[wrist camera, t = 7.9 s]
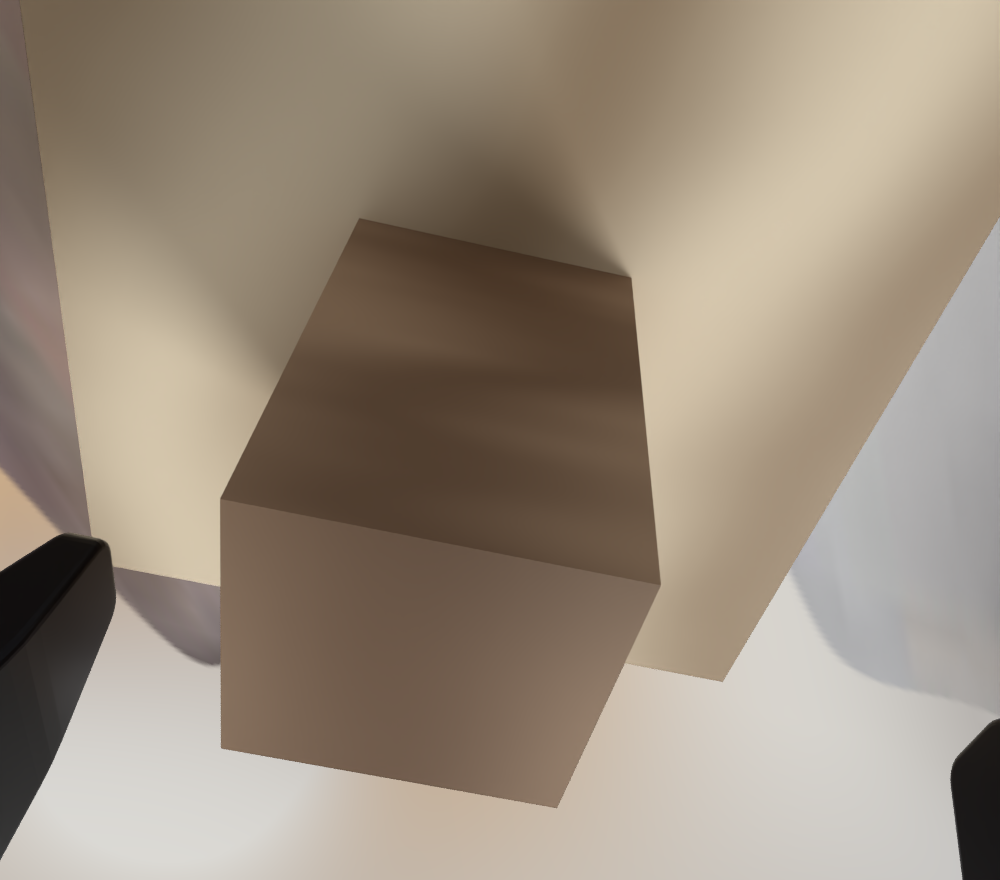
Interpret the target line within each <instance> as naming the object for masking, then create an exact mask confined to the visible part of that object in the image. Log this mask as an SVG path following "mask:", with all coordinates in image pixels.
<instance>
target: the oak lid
mask: <svg viewBox="0 0 1000 880" xmlns="http://www.w3.org/2000/svg"><path fill="white" fill-rule="evenodd" d="M19 2H20V9H21V17H22V24H23V31H24V39H25V46H26V54H27V61H28V68H29V76H30V83H31V91H32V98H33V105H34V113H35V120H36V128H37V135H38V142H39V150H40V157H41V165H42V172H43V179H44V187H45V194H46V202H47V209H48V216H49V224H50V231H51V239H52V246H53V253H54V261H55V268H56V275H57V283H58V290H59V298H60V305H61V312H62V320H63V327H64V335H65V342H66V349H67V357H68V364H69V372H70V379H71V386H72V394H73V401H74V409H75V416H76V423H77V431H78V438H79V446H80V453H81V460H82V468H83V475H84V483H85V490H86V497H87V505H88V512H89V520H90V527H91V534H92V537H95V538H100V539H102V540H105V541H106V542H107V543H108V545H109V546H110V550H111V556H112V564H113V566H115V567H120V568H125V569H130V570H136V571H141V572H146V573H152V574H157V575H162V576H167V577H173V578H178V579H183V580H188V581H194V582H199V583H204V584H210V585H215V586H220V616H221V748H222V749H228V750H233V751H239V752H244V753H250V754H256V755H261V756H267V757H273V758H279V759H284V760H289V761H295V762H301V763H306V764H312V765H318V766H324V767H329V768H334V769H340V770H346V771H351V772H357V773H363V774H368V775H374V776H379V777H385V778H391V779H396V780H402V781H408V782H413V783H419V784H424V785H430V786H435V787H441V788H447V789H452V790H458V791H463V792H469V793H475V794H480V795H486V796H492V797H497V798H503V799H508V800H514V801H520V802H525V803H531V804H536V805H542V806H548V807H553V808H557V807H558V805H559V803H560V800H561V798H562V796H563V794H564V792H565V790H566V787H567V785H568V783H569V781H570V779H571V777H572V775H573V773H574V770H575V768H576V766H577V764H578V762H579V760H580V758H581V755H582V753H583V751H584V749H585V747H586V745H587V743H588V741H589V738H590V736H591V734H592V732H593V730H594V728H595V725H596V723H597V721H598V719H599V717H600V715H601V713H602V711H603V708H604V706H605V704H606V702H607V700H608V698H609V696H610V694H611V691H612V689H613V687H614V685H615V683H616V681H617V679H618V676H619V674H620V672H621V670H622V668H623V666H624V664H625V663H627V664H632V665H637V666H642V667H647V668H652V669H658V670H663V671H669V672H674V673H679V674H684V675H689V676H695V677H700V678H706V679H710V680H716V681H721V682H723V680H724V679H725V677H726V675H727V674H728V672H729V670H730V669H731V667H732V665H733V664H734V662H735V660H736V659H737V657H738V655H739V654H740V652H741V650H742V649H743V647H744V645H745V643H746V642H747V640H748V638H749V637H750V635H751V633H752V632H753V630H754V628H755V627H756V625H757V623H758V622H759V620H760V618H761V617H762V615H763V613H764V612H765V610H766V608H767V607H768V605H769V603H770V601H771V600H772V598H773V596H774V595H775V593H776V591H777V590H778V588H779V586H780V585H781V583H782V581H783V580H784V578H785V576H786V575H787V573H788V571H789V570H790V568H791V566H792V565H793V563H794V561H795V560H796V558H797V556H798V554H799V553H800V551H801V549H802V548H803V546H804V544H805V543H806V541H807V539H808V538H809V536H810V534H811V533H812V531H813V529H814V528H815V526H816V524H817V523H818V521H819V519H820V518H821V516H822V514H823V513H824V511H825V509H826V507H827V506H828V504H829V502H830V501H831V499H832V497H833V496H834V494H835V492H836V491H837V489H838V487H839V486H840V484H841V482H842V481H843V479H844V477H845V476H846V474H847V472H848V471H849V469H850V467H851V465H852V464H853V462H854V460H855V459H856V457H857V455H858V454H859V452H860V450H861V449H862V447H863V445H864V444H865V442H866V440H867V439H868V437H869V435H870V434H871V432H872V430H873V429H874V427H875V425H876V423H877V422H878V420H879V418H880V417H881V415H882V413H883V412H884V410H885V408H886V407H887V405H888V403H889V402H890V400H891V398H892V397H893V395H894V393H895V392H896V390H897V388H898V387H899V385H900V383H901V382H902V380H903V378H904V376H905V375H906V373H907V371H908V370H909V368H910V366H911V365H912V363H913V361H914V360H915V358H916V356H917V355H918V353H919V351H920V350H921V348H922V346H923V345H924V343H925V341H926V340H927V338H928V336H929V334H930V333H931V331H932V329H933V328H934V326H935V324H936V323H937V321H938V319H939V318H940V316H941V314H942V313H943V311H944V309H945V308H946V306H947V304H948V303H949V301H950V299H951V298H952V296H953V294H954V293H955V291H956V289H957V287H958V286H959V284H960V282H961V281H962V279H963V277H964V276H965V274H966V272H967V271H968V269H969V267H970V266H971V264H972V262H973V261H974V259H975V257H976V256H977V254H978V252H979V251H980V249H981V247H982V245H983V244H984V242H985V240H986V239H987V237H988V235H989V234H990V232H991V230H992V229H993V227H994V225H995V224H996V222H997V220H998V219H999V217H1000V0H19Z"/></svg>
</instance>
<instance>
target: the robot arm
mask: <svg viewBox="0 0 1000 880" xmlns="http://www.w3.org/2000/svg"><path fill="white" fill-rule="evenodd" d="M115 603H116V589H115V581H114V573H113V564H112V556H111V550H110V546H109V545H108V543H107V542H106V541H105V540H102V539H100V538H95V537H90V536H84V535H79V534H74V533H64V534H61V535H58V536H56V537H54V538H53V539H51V540H50V541H48V542H46V543H45V544H43V545H42V546H40V547H38V548H37V549H35V550H34V551H32V552H31V553H29V554H27V555H26V556H24V557H23V558H21V559H19V560H18V561H16V562H15V563H13V564H12V565H10V566H8V567H7V568H5V569H4V570H2V571H1V572H0V860H1V858H2V856H3V854H4V852H5V850H6V849H7V847H8V845H9V843H10V841H11V839H12V837H13V836H14V834H15V832H16V830H17V828H18V826H19V825H20V823H21V821H22V819H23V817H24V815H25V814H26V812H27V810H28V808H29V806H30V804H31V802H32V800H33V799H34V797H35V795H36V793H37V791H38V790H39V788H40V786H41V784H42V782H43V780H44V778H45V776H46V774H47V772H48V770H49V768H50V766H51V764H52V762H53V760H54V758H55V755H56V753H57V751H58V748H59V746H60V744H61V742H62V739H63V737H64V734H65V732H66V730H67V727H68V724H69V722H70V720H71V717H72V715H73V712H74V710H75V707H76V705H77V702H78V700H79V698H80V695H81V692H82V690H83V688H84V685H85V683H86V680H87V678H88V675H89V673H90V671H91V668H92V666H93V663H94V661H95V658H96V656H97V653H98V651H99V648H100V646H101V643H102V641H103V639H104V636H105V634H106V631H107V629H108V626H109V624H110V621H111V619H112V616H113V612H114V609H115ZM951 791H952V799H953V807H954V814H955V823H956V831H957V839H958V847H959V855H960V862H961V871H962V879H963V880H1000V718H999V719H996V720H994V721H992V722H991V723H989V724H988V725H987V726H986V727H985V728H984V730H982V731H981V732H980V733H979V735H978V736H977V737H976V738H975V739H974V740H973V741H972V742H971V743H970V744H969V745H968V746H967V747H966V748H965V749H964V750H963V751H962V752H961V753H960V754H959V755H958V756H957V758H956V759H955V761H954V763H953V766H952V770H951Z"/></svg>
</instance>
